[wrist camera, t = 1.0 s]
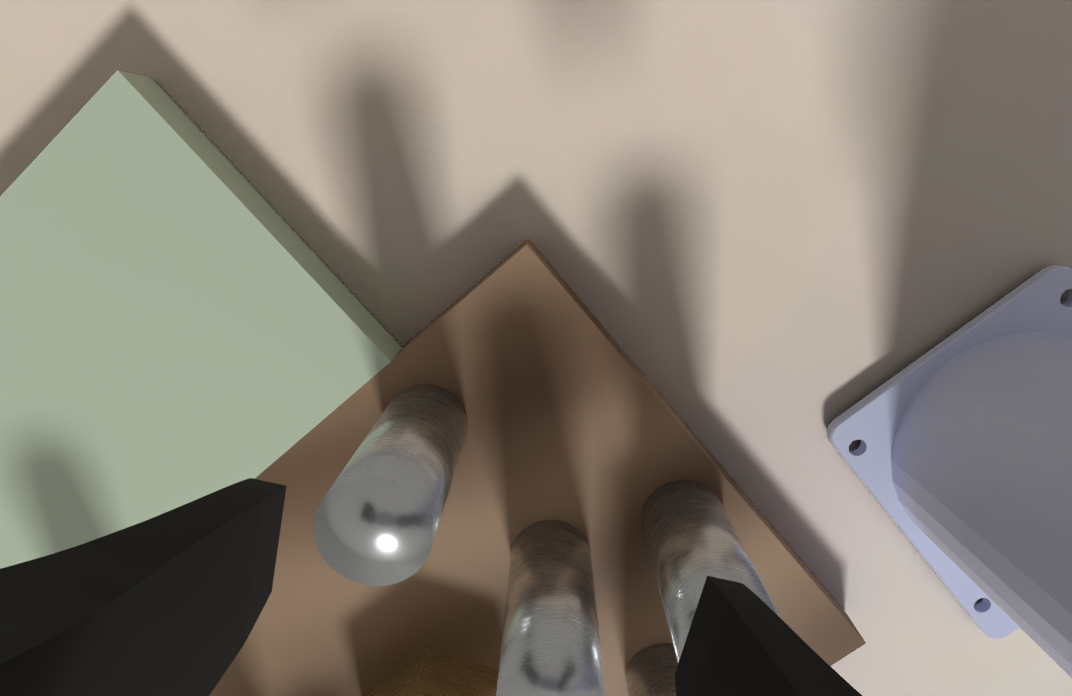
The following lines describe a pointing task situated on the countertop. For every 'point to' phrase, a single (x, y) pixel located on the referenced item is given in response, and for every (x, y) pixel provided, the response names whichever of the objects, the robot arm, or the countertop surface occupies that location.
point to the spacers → (522, 552)
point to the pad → (154, 327)
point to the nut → (439, 677)
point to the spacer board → (506, 501)
